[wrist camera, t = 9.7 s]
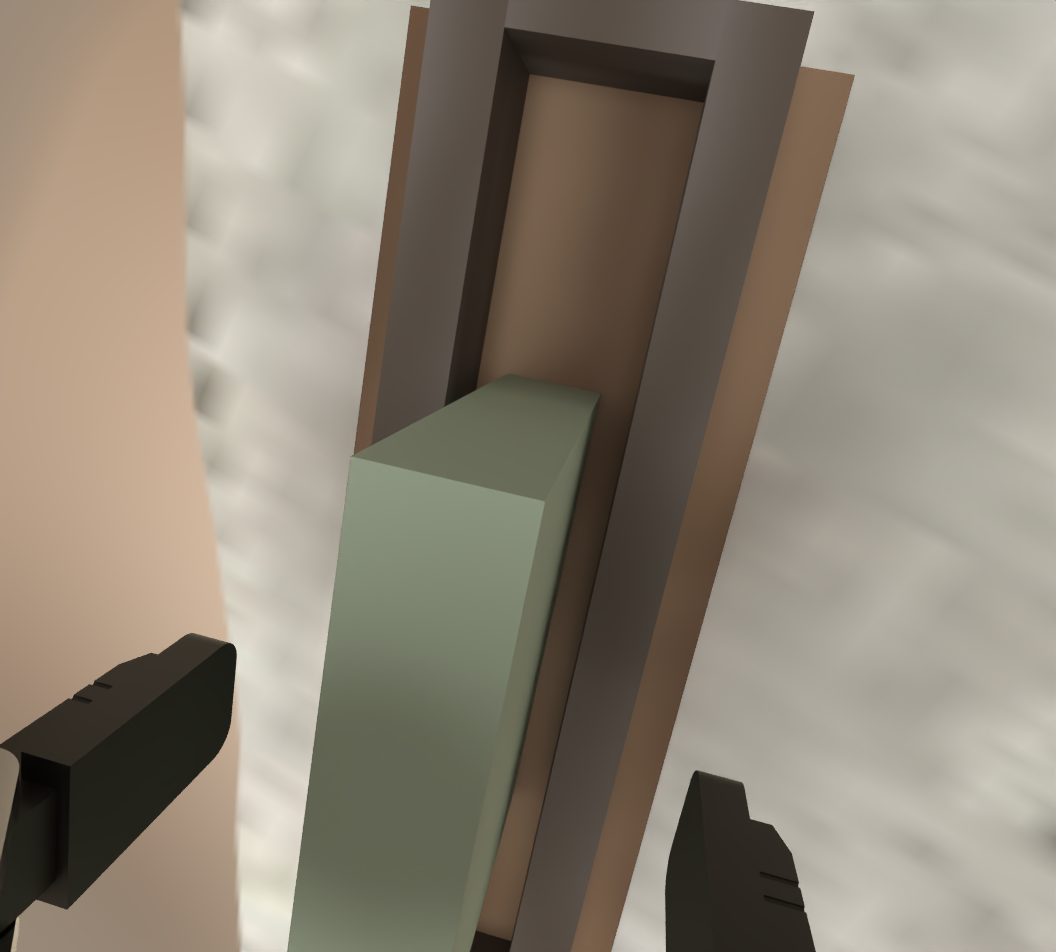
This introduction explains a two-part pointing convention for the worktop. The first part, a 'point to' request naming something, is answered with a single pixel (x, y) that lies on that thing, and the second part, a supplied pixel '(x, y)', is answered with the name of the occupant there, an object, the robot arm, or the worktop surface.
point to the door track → (601, 354)
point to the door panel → (435, 664)
